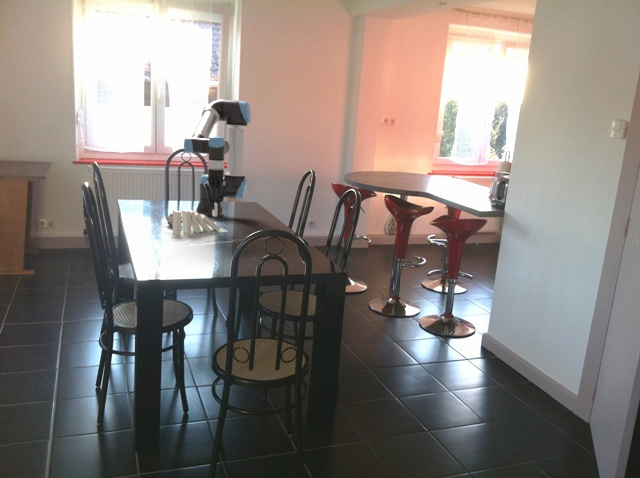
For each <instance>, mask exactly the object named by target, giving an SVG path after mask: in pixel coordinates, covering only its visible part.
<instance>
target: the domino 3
mask: <svg viewBox="0 0 640 478" xmlns="http://www.w3.org/2000/svg"><path fill="white" fill-rule="evenodd" d="M187 210H188V211H190V217H191V230H193V231H194V232H197V233H199V232H201V229H202V228H201V226H200V225H199V224H198V221H197V218H196V216H195V213H194V210H192V209H187Z"/></svg>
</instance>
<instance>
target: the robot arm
mask: <svg viewBox="0 0 640 478" xmlns="http://www.w3.org/2000/svg"><path fill="white" fill-rule="evenodd" d="M251 119H252V117H251V108H250V105H249V103H248V102H247V101H244V100H235V99H234V100H232V99H217V100H214V101H212V102H210V103H209V104H207V105H206V106H205V107H204V108H203V110H202V112H201V118H200V121H199V123H198V124H197V126H196V128H195V130H194V132H193V135H192V136H190V137H185V139H184V141H183V149H184V151H185V152H186V153H191V154H206V155H208V159H207V160H208V169H207V174H203V175H201V176H200V178H199V201H198V204H197V207H196V209H195V212H197V213H199V214H203V215H205V216H207V217H208V218H209V217H211V218H213V217H214V218H215V217H222V216H223V215H224V210H223V208H222V207H223V206H222V204H221V203H222V202H224V200H225V199H224V198H227V199H243V198H244V197H245V195H246V193H247V190H248V184H249V183H248V182H249V181H248V180H249V179H248V178H246V175H245V173H244V171H243V170H244V169H243V168H244V167H243V166H244V165H243V163H244V148H245V147H244V145H245V144H244V143H245V129H246V128H247V127H248V124H250V123H251ZM218 122H225V125H226V127H227V128H228V140H227V139H225V137H224V136H214V135H213V136H210V135H211V133H212V131H213V129H214V126H215V125H216V124H217V123H218ZM225 155H227V166H226V167H227V169H226V172H225V170H224V169H225ZM224 172H225V173H224Z"/></svg>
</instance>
